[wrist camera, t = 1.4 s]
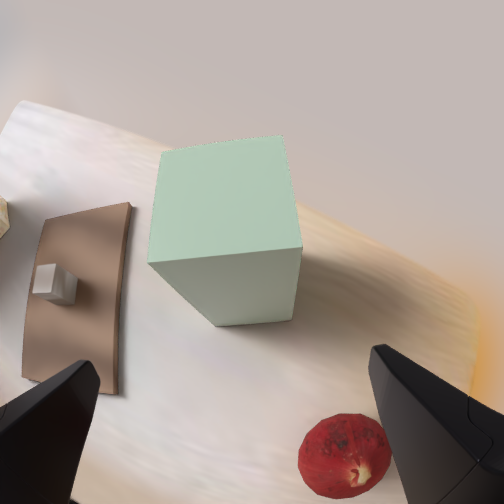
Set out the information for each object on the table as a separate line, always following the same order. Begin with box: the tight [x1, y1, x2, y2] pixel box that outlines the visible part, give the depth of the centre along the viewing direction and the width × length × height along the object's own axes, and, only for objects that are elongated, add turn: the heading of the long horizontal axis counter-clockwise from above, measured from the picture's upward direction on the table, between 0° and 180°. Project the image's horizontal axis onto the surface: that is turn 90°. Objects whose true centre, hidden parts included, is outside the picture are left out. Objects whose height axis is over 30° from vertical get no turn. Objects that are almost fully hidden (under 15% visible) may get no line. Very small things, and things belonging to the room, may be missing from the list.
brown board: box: [22, 202, 132, 394], centre depth 22 cm, size 18×12×4 cm, turn 4°
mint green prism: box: [147, 135, 303, 327], centre depth 17 cm, size 6×6×12 cm
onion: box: [298, 414, 392, 499], centre depth 14 cm, size 6×6×8 cm
